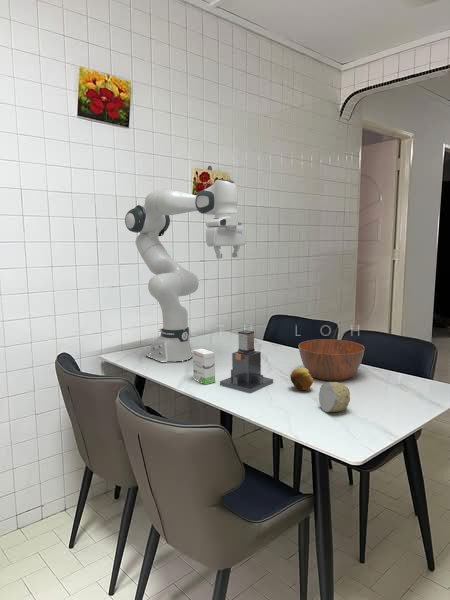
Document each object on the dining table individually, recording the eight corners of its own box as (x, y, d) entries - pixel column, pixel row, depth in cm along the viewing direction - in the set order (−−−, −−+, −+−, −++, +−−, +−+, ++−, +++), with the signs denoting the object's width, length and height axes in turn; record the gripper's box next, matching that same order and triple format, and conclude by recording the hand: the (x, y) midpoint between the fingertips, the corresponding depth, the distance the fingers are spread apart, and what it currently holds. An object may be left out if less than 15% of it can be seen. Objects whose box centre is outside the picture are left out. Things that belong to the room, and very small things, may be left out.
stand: (220, 385, 162) (219, 352, 160) (243, 376, 173) (243, 345, 171) (250, 393, 153) (250, 358, 151) (273, 383, 164) (273, 350, 162)
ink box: (215, 382, 165) (215, 352, 164) (204, 385, 162) (204, 354, 161) (203, 377, 172) (202, 347, 171) (192, 379, 169) (191, 349, 168)
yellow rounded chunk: (307, 386, 139) (333, 370, 141) (320, 413, 140) (345, 398, 143) (321, 393, 130) (348, 377, 132) (334, 423, 131) (361, 406, 133)
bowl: (368, 369, 178) (368, 342, 177) (358, 388, 156) (359, 357, 155) (307, 363, 189) (307, 337, 187) (290, 380, 167) (290, 350, 165)
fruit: (308, 395, 151) (308, 372, 149) (286, 391, 155) (286, 368, 154) (316, 388, 157) (316, 366, 156) (294, 384, 161) (294, 363, 160)
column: (238, 379, 162) (238, 331, 160) (245, 376, 166) (245, 329, 163) (247, 382, 160) (247, 333, 157) (254, 379, 163) (254, 331, 160)
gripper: (236, 222, 180) (237, 256, 182) (202, 221, 165) (203, 259, 167) (249, 222, 176) (249, 256, 178) (215, 221, 161) (216, 259, 163)
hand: (227, 257), depth 172 cm, fingers open, 8 cm apart
